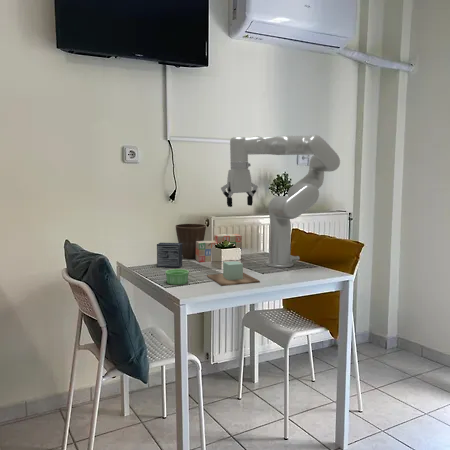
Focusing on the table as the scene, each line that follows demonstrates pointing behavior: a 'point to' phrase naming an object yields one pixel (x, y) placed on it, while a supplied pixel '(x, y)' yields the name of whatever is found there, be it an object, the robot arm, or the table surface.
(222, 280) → the walnut board
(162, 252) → the small box
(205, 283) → the table surface
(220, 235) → the stack of blocks
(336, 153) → the robot arm
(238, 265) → the sage cube
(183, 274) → the ramekin
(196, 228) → the plant pot
